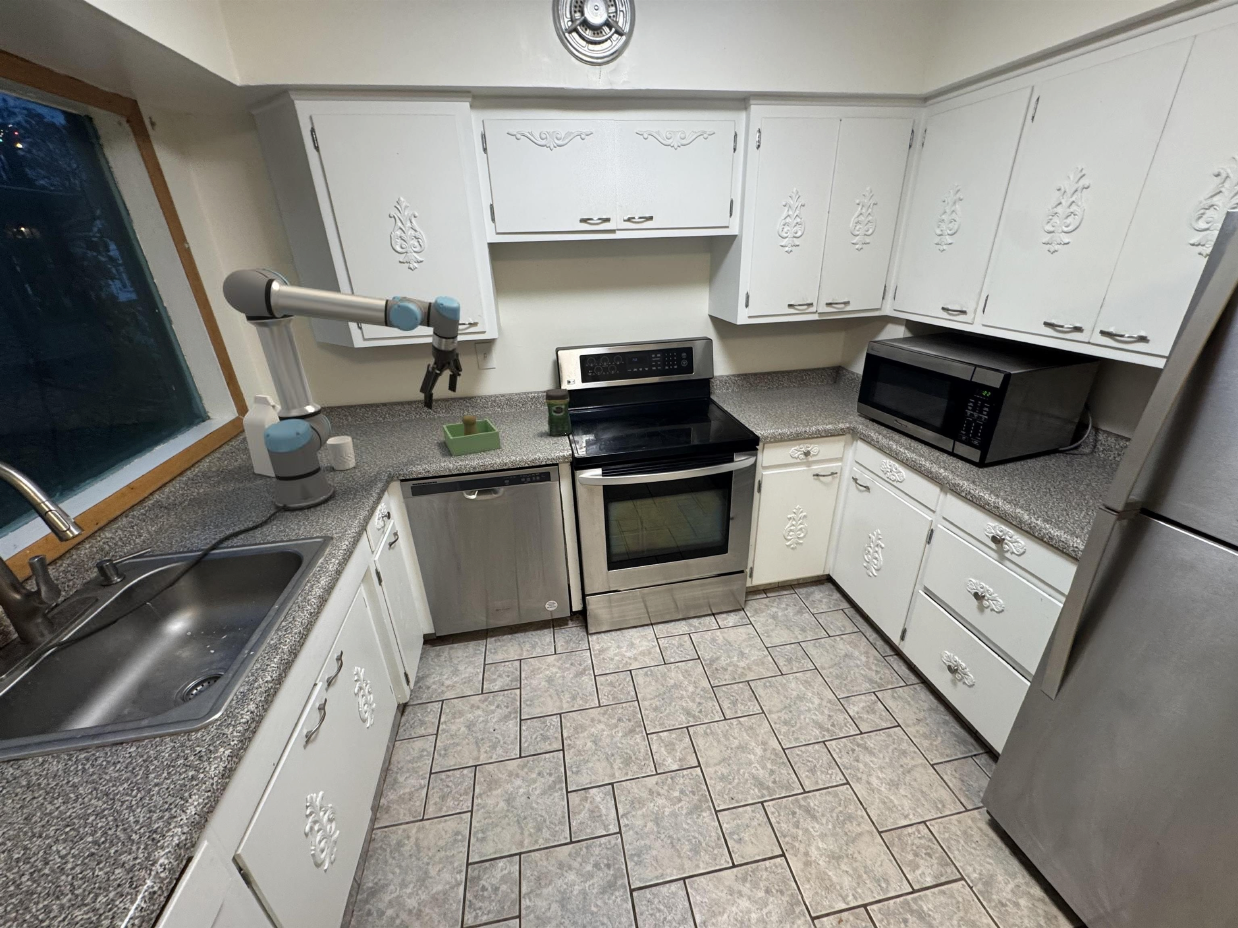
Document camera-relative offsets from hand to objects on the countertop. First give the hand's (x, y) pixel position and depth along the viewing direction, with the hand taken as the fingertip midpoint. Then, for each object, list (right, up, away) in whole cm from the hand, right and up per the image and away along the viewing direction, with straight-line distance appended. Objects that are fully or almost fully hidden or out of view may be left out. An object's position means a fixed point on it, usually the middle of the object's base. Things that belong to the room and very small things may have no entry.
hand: (440, 399), depth 175 cm
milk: (-54, -25, -1) cm, 59 cm away
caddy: (+5, -15, +20) cm, 26 cm away
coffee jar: (+38, -10, +32) cm, 51 cm away
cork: (+5, -15, +20) cm, 25 cm away
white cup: (-34, -24, +1) cm, 41 cm away
